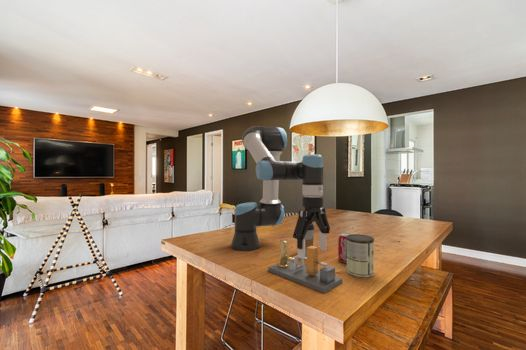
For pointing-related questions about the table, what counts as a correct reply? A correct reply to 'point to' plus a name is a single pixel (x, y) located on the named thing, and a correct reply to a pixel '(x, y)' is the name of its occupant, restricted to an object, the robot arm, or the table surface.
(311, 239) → the coffee cup
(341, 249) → the soda can
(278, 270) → the board
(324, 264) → the wooden handled lever
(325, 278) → the block
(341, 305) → the table surface
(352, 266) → the coffee can
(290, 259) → the brass round knobbed piece
